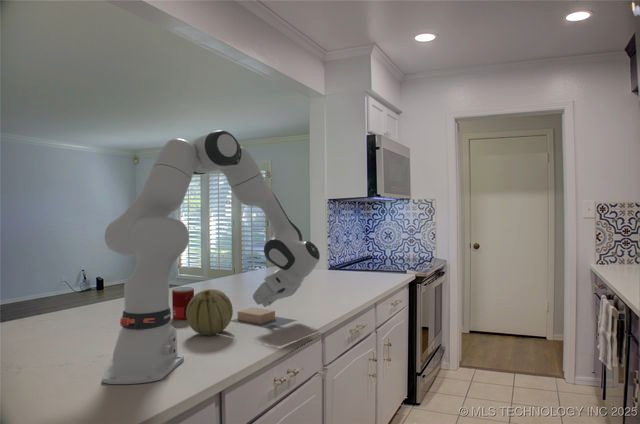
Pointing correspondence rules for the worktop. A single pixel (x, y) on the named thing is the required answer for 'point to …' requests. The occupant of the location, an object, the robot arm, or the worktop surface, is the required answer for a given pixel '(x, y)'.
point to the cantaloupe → (209, 312)
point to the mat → (270, 324)
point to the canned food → (181, 301)
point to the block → (256, 315)
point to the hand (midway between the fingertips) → (265, 304)
